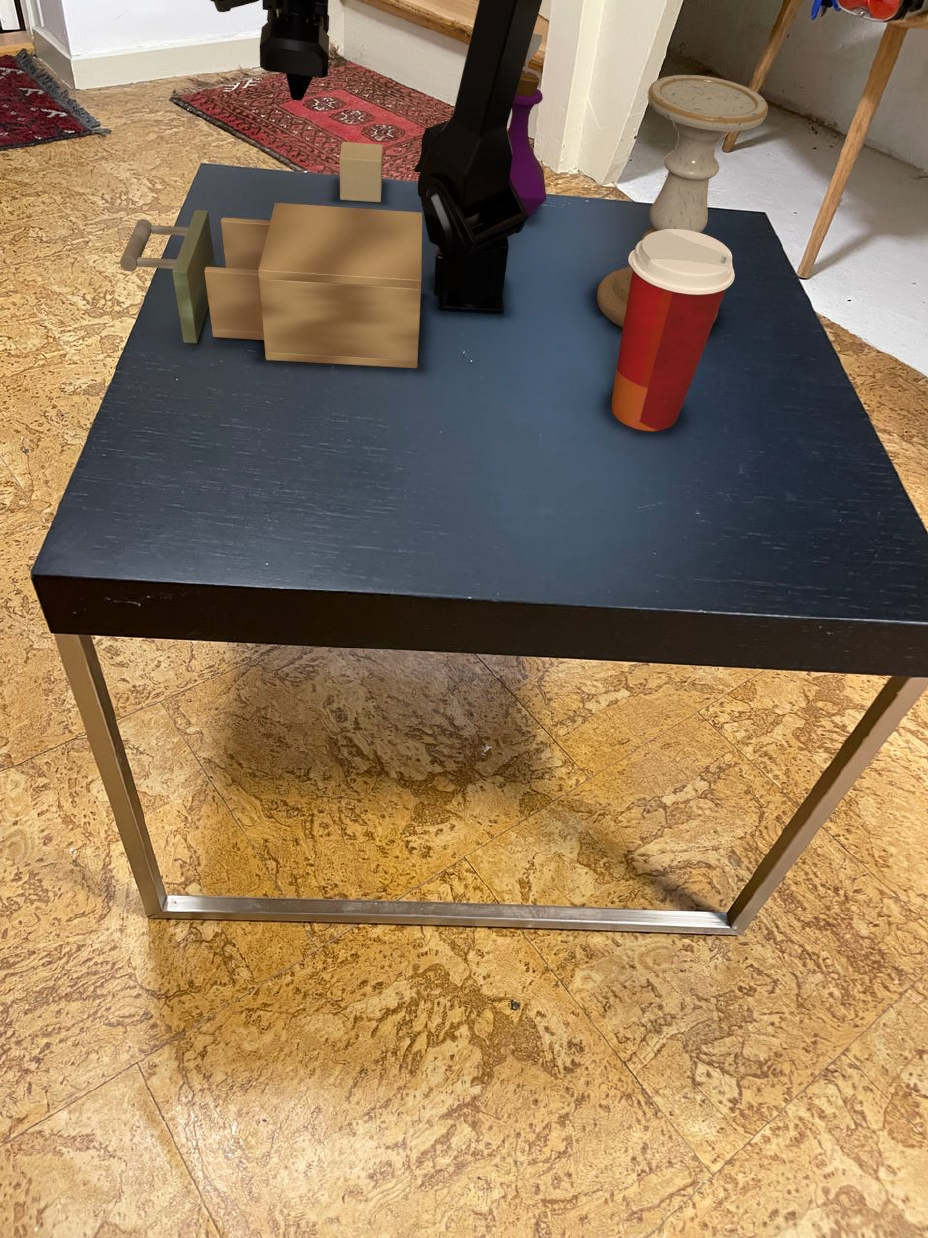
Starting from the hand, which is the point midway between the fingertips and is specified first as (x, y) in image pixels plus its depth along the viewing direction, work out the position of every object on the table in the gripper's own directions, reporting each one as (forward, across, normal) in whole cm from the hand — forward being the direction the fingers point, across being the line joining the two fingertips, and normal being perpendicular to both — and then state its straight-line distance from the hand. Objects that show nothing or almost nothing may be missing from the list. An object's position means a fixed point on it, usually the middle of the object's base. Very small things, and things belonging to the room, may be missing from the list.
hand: (296, 98), depth 98 cm
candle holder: (+5, +21, +37) cm, 43 cm away
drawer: (+6, +26, -5) cm, 27 cm away
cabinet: (+6, +27, +6) cm, 28 cm away
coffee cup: (+3, +39, +32) cm, 51 cm away
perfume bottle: (+10, +1, +24) cm, 26 cm away
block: (+11, -2, +7) cm, 13 cm away
